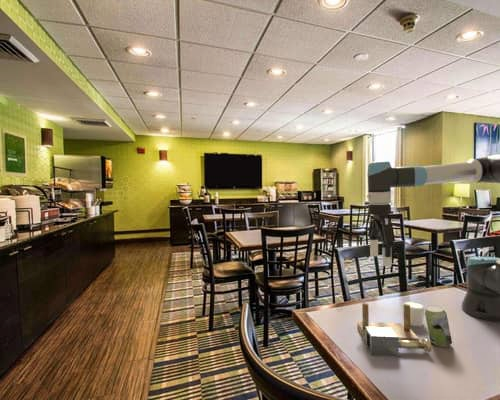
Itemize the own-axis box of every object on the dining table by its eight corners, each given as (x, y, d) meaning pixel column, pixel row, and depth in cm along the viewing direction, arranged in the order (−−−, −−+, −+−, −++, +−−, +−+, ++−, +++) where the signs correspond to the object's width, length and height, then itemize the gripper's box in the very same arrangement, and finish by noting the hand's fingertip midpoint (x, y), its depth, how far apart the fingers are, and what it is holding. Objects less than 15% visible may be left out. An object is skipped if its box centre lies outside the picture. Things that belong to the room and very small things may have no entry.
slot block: (390, 345, 87) (390, 327, 87) (398, 356, 81) (398, 337, 81) (365, 344, 88) (365, 326, 88) (371, 355, 82) (371, 336, 82)
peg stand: (405, 328, 98) (404, 299, 97) (418, 344, 88) (418, 311, 87) (357, 326, 100) (357, 298, 99) (365, 341, 90) (365, 310, 89)
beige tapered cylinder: (423, 320, 103) (423, 302, 103) (426, 328, 97) (426, 309, 97) (403, 317, 106) (402, 300, 106) (405, 325, 100) (404, 306, 100)
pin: (424, 347, 85) (424, 336, 85) (431, 354, 81) (431, 343, 81) (390, 346, 86) (390, 335, 86) (395, 352, 83) (395, 341, 82)
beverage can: (456, 350, 84) (455, 313, 84) (430, 347, 85) (430, 311, 85) (445, 339, 90) (445, 304, 90) (421, 337, 92) (421, 303, 91)
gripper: (359, 202, 110) (360, 252, 111) (380, 206, 85) (381, 270, 86) (378, 202, 109) (379, 252, 110) (405, 205, 84) (406, 270, 85)
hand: (380, 260), depth 98 cm, fingers open, 13 cm apart
